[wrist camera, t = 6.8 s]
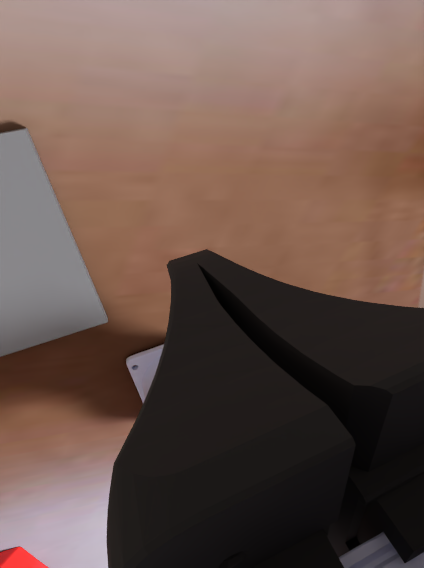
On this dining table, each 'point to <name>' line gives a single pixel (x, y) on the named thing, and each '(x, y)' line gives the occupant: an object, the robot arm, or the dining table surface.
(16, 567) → the vase
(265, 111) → the dining table surface
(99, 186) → the dining table surface
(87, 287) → the mat
